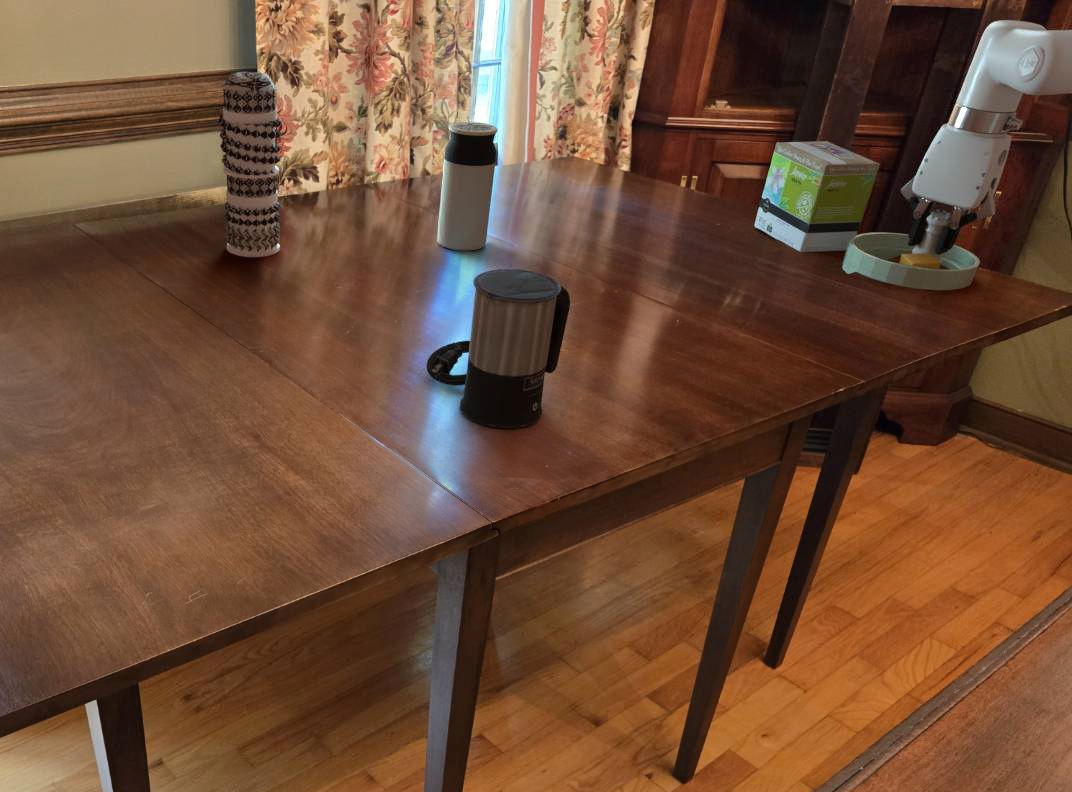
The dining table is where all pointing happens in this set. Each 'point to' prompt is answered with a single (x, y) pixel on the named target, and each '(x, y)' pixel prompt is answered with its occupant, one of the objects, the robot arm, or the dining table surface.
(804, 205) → the tea box
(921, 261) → the decorative block
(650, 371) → the dining table surface
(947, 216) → the rook chess piece
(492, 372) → the milk frother
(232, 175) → the decorative candle
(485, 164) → the travel mug
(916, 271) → the pale green round tray
